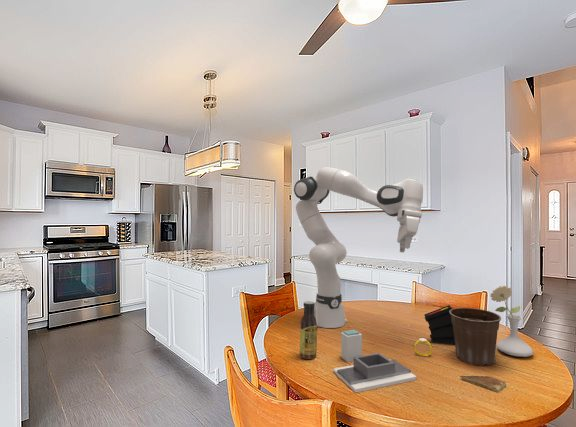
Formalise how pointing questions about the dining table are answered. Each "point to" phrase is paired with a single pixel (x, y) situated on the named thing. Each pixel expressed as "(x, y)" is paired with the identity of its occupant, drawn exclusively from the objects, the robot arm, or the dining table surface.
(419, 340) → the watch
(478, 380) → the shard
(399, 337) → the dining table surface
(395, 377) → the rail holder
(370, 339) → the dining table surface
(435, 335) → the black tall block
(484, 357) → the plant pot
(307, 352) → the sauce bottle
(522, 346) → the flower in vase
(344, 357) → the module block
